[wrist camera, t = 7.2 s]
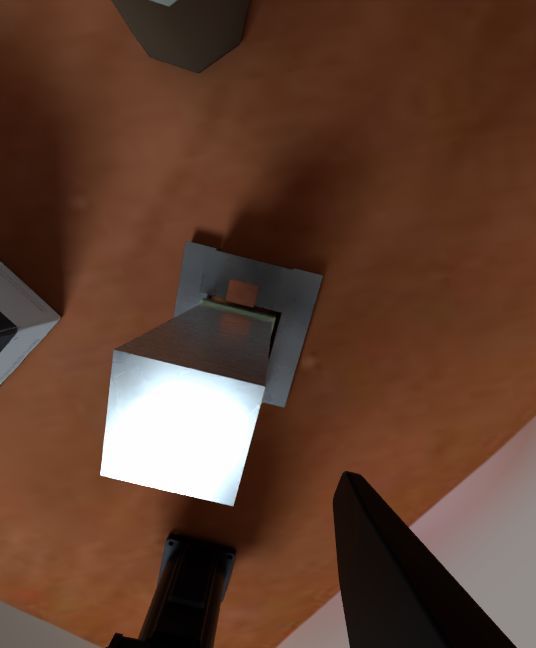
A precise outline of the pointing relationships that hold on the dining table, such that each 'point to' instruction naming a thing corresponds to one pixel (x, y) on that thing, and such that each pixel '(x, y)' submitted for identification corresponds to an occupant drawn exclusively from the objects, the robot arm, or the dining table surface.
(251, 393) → the grey rectangular block
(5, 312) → the tea box
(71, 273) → the dining table surface
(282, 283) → the grey square frame
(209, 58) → the beer bottle
